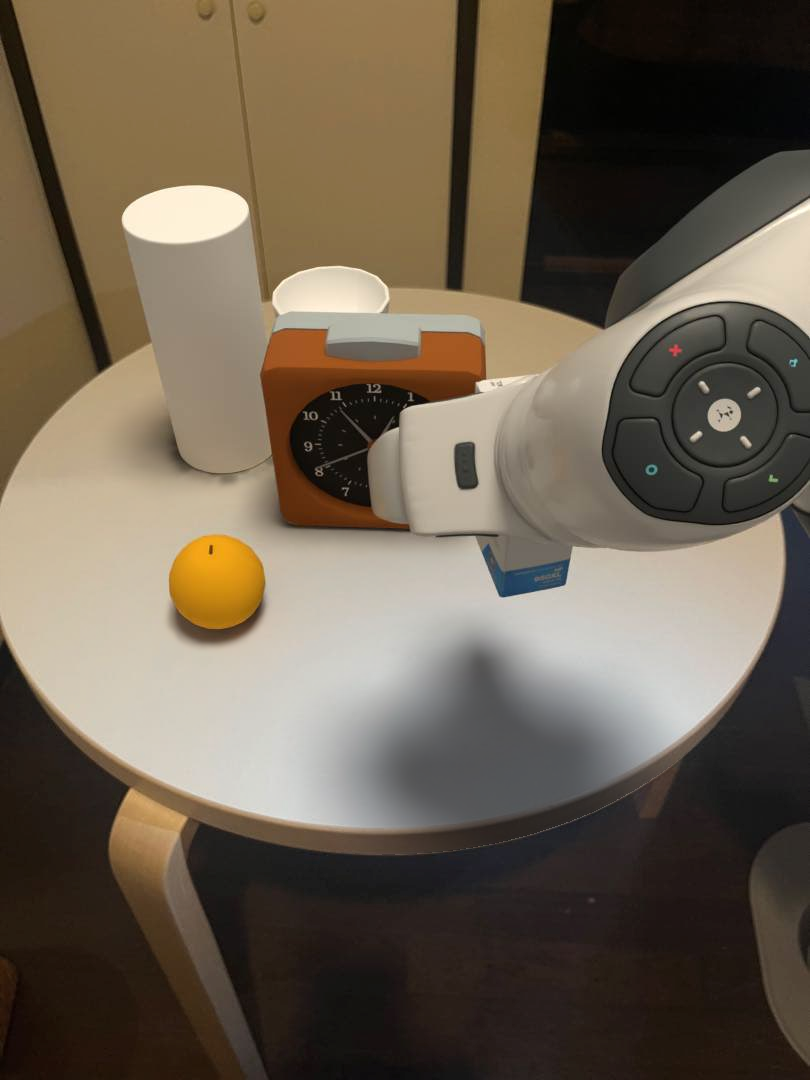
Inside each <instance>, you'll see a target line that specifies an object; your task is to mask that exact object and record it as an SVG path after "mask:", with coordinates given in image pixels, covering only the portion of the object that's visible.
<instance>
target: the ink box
mask: <svg viewBox="0 0 810 1080" xmlns="http://www.w3.org/2000/svg"><path fill="white" fill-rule="evenodd" d="M540 374H541V373H535V375H537V376H538V375H540ZM528 375H529V374H525V375H519V376H510V377H500V378H499V377H498V378H491V379H486V380H483V381H480V382H476V386H475V393H479V392H487V391H490V390H493V389H496V388H499V387H501V386H504V385H507V384H509V383H511V382H514V381H516V380H518V379H521V378H523V377H525V376H528ZM474 537H475V540H476V542H477V544H478V547H479V549H480V552H481V555H482V557H483V559H484V561H485V565H486V568H487V569H488V572H489V574H490V577H491V580H492V582H493V585H494V587H495V589H496V592H497V594H498V597H500V598H503V599H504V598H509V597H514V596H519V595H524V594H525V595H526V594H530V593H535V592H540V591H546V590H551V589H555V588H556V589H557V588H560V587H564V586H566V584H567V579H568V574H569V569H570V564H571V562H570V561H571V557H572V552H573V547H574V546H562V545H555V544H551V543H549V544H539V543H533V542H529V541H524V540H520V539H516V538H511V537H506V536H500V535H499V536H498V537H487V536H474Z"/></svg>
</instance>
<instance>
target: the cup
mask: <svg viewBox="0 0 810 1080" xmlns="http://www.w3.org/2000/svg"><path fill="white" fill-rule="evenodd" d="M271 295H272V297H271V299H272V302H271V305H272V309H273V312H274V315H275V320H276V319H277V317H278V316H280V315H282V314H285V313H288V312H290V311H296V312H345V313H389V308H390V302H391V298H390V292H389V287H388V285H386V284H385V283H384V282H383V280H382V279H381V278H380V277H379V276H378V275H375V274H373V273H371V272H369V271H366V270H364V269H361V268H355V267H349V266H344V265H330V266H317V267H313V268H309V269H305V270H300V271H297V272H295V273H294V274H291V275H290V276H289V277H286V278H285V279H283V280H282V281H281V282H280V283H279V284H278V285H277V287H276V288H275V289H274V290H273V292H272V294H271Z"/></svg>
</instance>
